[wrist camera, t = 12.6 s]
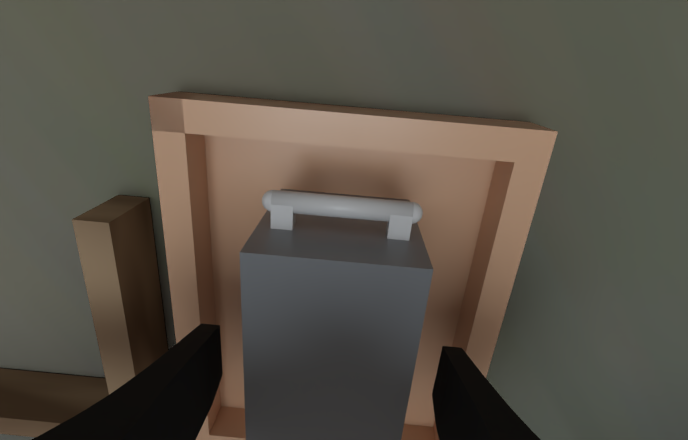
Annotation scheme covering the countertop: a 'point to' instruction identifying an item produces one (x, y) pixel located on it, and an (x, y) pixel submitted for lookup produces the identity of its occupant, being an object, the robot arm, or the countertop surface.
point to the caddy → (331, 315)
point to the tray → (354, 179)
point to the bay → (99, 319)
